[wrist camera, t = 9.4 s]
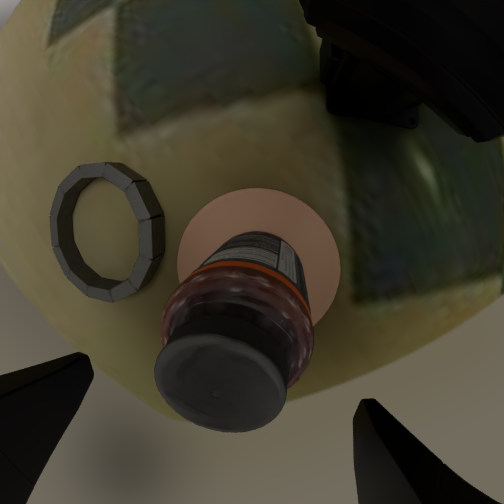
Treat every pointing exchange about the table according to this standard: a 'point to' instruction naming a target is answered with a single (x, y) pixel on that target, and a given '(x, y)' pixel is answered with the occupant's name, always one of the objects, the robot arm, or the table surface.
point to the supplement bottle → (236, 335)
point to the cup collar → (148, 225)
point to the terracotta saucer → (272, 221)
